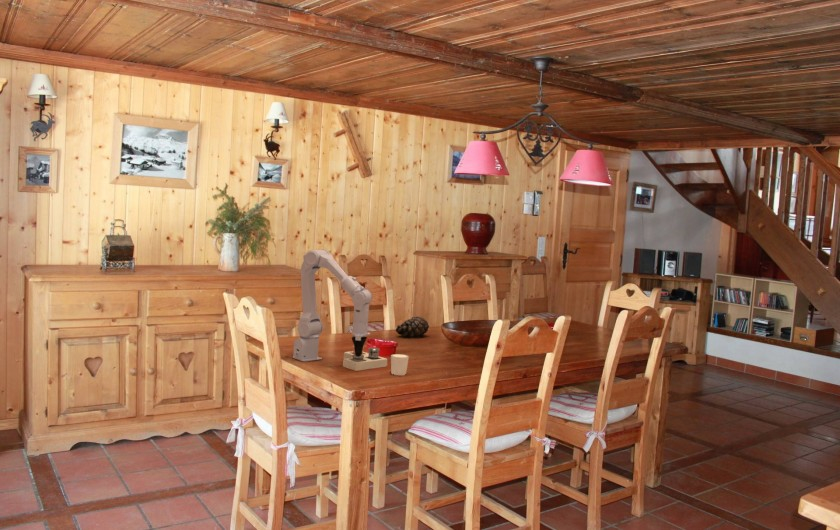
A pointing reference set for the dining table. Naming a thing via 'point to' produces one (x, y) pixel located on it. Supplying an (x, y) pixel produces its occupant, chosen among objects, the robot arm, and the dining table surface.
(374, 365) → the socket block
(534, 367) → the dining table surface
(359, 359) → the metal plug
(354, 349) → the terracotta plug
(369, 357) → the metal plug
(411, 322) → the pine cone
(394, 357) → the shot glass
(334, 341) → the dining table surface
